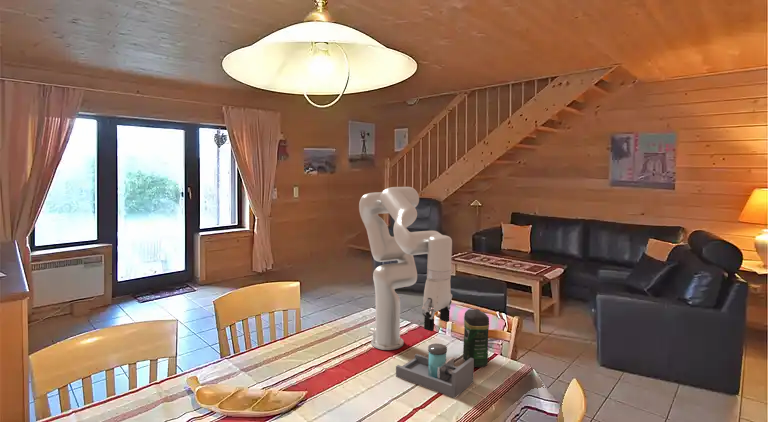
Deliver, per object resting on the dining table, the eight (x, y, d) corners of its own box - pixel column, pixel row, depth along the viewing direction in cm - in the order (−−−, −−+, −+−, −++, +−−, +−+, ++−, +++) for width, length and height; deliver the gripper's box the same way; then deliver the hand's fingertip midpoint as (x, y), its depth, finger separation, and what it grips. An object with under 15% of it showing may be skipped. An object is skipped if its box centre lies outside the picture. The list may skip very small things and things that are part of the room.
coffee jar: (490, 367, 153) (492, 316, 151) (468, 368, 152) (470, 316, 150) (481, 355, 163) (482, 306, 161) (460, 356, 162) (461, 307, 160)
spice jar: (424, 377, 144) (424, 347, 142) (433, 371, 148) (434, 341, 147) (440, 383, 140) (440, 353, 139) (449, 376, 145) (450, 346, 143)
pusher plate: (437, 384, 139) (437, 367, 138) (451, 373, 146) (451, 356, 145) (447, 388, 136) (448, 370, 136) (461, 377, 144) (462, 360, 143)
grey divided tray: (395, 376, 147) (396, 353, 146) (416, 363, 156) (416, 341, 155) (454, 398, 133) (455, 373, 132) (473, 382, 143) (473, 358, 142)
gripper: (442, 266, 149) (440, 315, 152) (413, 277, 136) (412, 330, 138) (462, 270, 145) (459, 320, 147) (434, 282, 131) (432, 337, 134)
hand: (436, 325), depth 143 cm, fingers open, 9 cm apart
